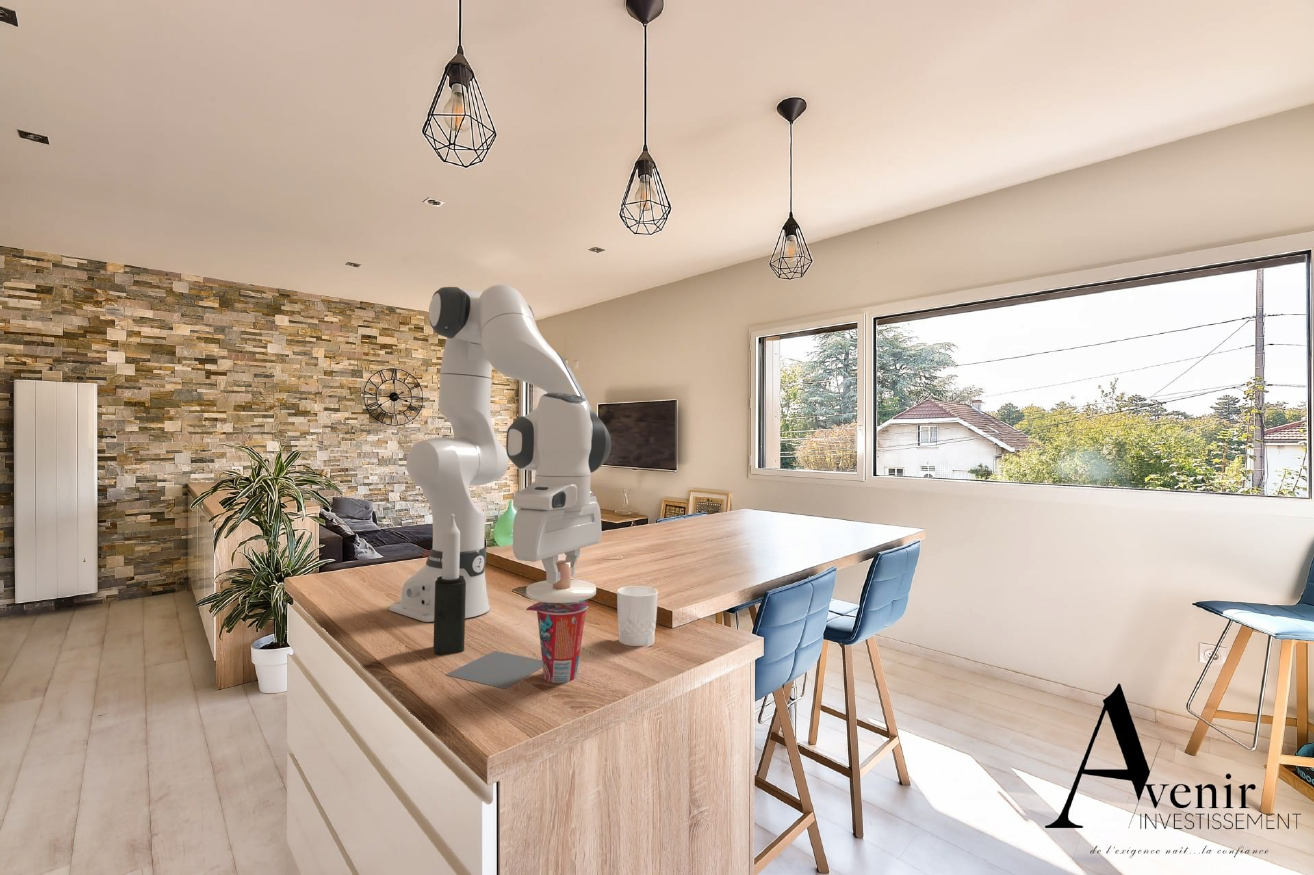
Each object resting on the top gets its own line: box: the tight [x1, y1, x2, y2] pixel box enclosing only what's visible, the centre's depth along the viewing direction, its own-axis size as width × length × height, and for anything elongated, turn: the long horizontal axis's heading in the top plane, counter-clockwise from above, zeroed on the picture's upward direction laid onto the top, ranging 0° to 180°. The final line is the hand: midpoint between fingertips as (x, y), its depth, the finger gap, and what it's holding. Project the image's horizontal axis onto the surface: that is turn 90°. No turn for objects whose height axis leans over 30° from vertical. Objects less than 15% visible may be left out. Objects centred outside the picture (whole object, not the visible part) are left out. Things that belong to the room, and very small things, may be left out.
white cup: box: [616, 585, 659, 648], centre depth 109 cm, size 8×8×10 cm
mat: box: [445, 650, 543, 690], centre depth 94 cm, size 12×12×1 cm
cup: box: [525, 600, 589, 684], centre depth 91 cm, size 9×8×12 cm
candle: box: [432, 514, 466, 656], centre depth 103 cm, size 5×5×25 cm
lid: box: [525, 559, 597, 603], centre depth 91 cm, size 11×11×5 cm
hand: (560, 580), depth 91 cm, fingers closed on lid, 3 cm apart
